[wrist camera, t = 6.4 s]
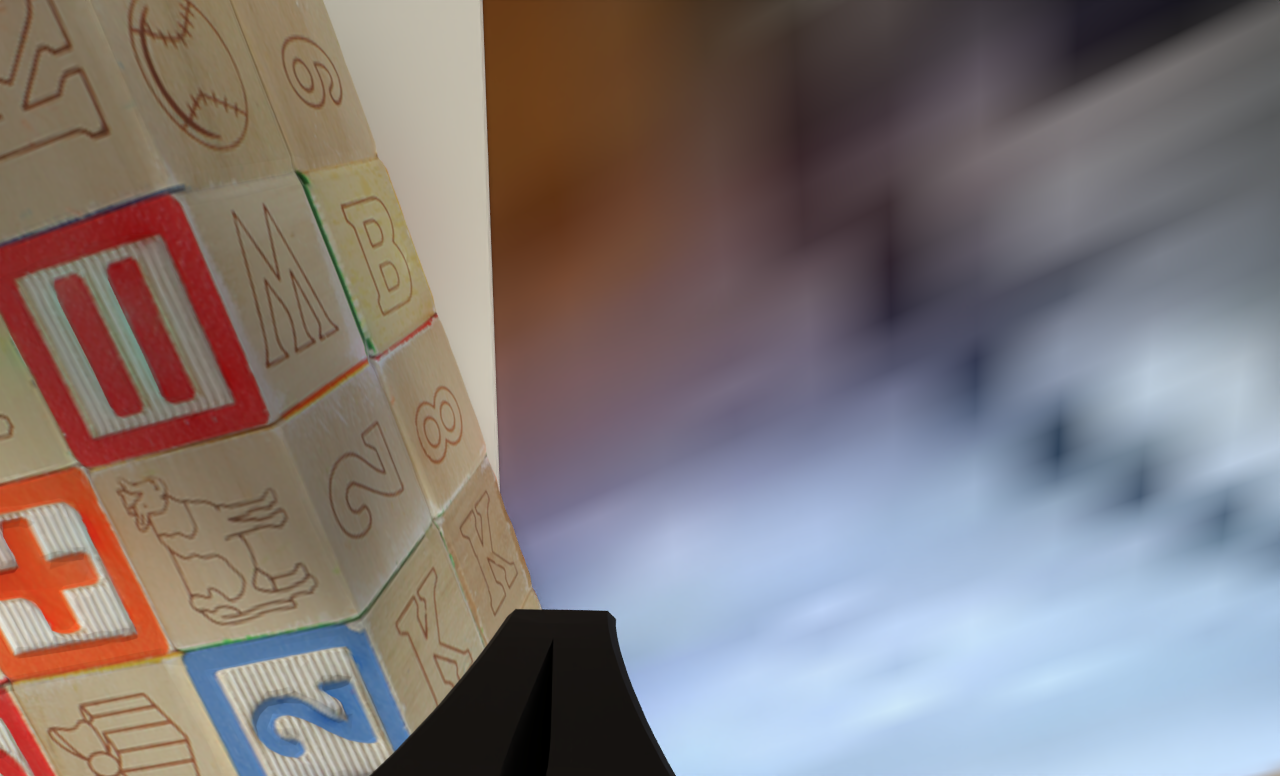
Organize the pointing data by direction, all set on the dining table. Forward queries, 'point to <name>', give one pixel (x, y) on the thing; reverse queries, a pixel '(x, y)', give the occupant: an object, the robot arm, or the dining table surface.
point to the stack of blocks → (222, 408)
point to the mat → (435, 160)
